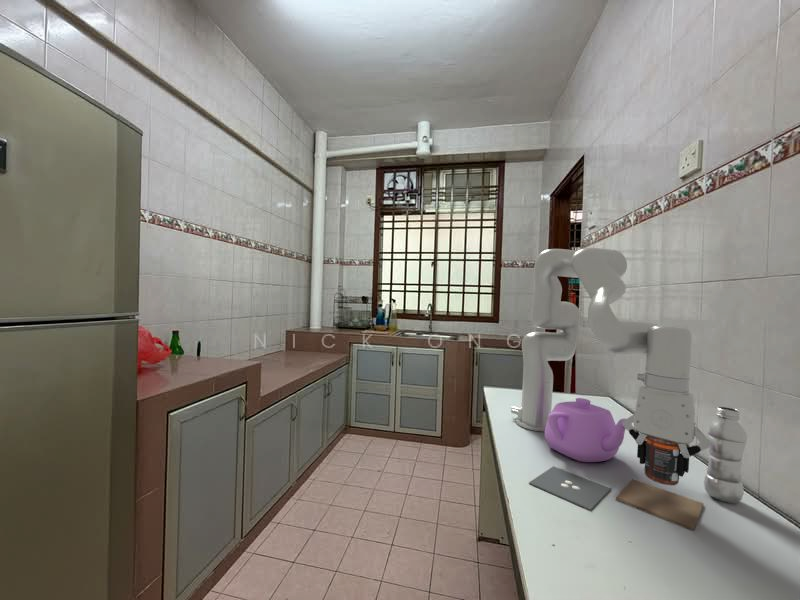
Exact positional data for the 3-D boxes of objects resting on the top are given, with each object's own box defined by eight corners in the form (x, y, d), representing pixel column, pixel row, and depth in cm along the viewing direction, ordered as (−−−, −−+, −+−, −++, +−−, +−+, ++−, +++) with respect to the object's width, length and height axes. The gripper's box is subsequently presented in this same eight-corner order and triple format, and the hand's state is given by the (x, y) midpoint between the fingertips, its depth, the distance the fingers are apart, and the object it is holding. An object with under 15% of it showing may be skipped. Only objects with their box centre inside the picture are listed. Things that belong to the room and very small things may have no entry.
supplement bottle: (685, 488, 72) (688, 433, 72) (652, 484, 73) (655, 429, 73) (669, 474, 78) (672, 423, 78) (639, 470, 79) (641, 420, 79)
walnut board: (615, 499, 76) (615, 497, 76) (632, 480, 85) (632, 478, 85) (693, 530, 66) (693, 528, 66) (703, 505, 75) (703, 503, 75)
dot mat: (528, 483, 81) (529, 482, 81) (553, 467, 90) (553, 466, 90) (590, 510, 71) (590, 509, 71) (611, 489, 80) (611, 488, 80)
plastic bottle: (695, 490, 82) (700, 404, 82) (722, 491, 82) (727, 405, 82) (723, 507, 75) (728, 413, 75) (752, 507, 76) (757, 414, 76)
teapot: (524, 446, 102) (527, 394, 102) (575, 438, 111) (578, 390, 111) (598, 486, 81) (602, 420, 81) (653, 472, 90) (657, 413, 90)
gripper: (615, 377, 79) (610, 458, 79) (718, 395, 67) (713, 491, 67) (624, 374, 84) (620, 449, 84) (722, 390, 72) (717, 479, 72)
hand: (661, 467), depth 76 cm, fingers closed on supplement bottle, 6 cm apart
